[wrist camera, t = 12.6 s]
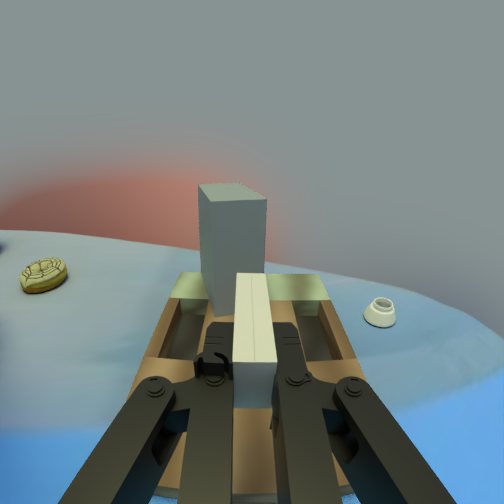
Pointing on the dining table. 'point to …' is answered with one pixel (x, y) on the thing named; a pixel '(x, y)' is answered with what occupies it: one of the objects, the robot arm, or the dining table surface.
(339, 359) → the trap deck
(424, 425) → the dining table surface
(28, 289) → the decorated donut
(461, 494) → the dining table surface
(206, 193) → the grey block
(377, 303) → the white jar
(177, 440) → the robot arm
